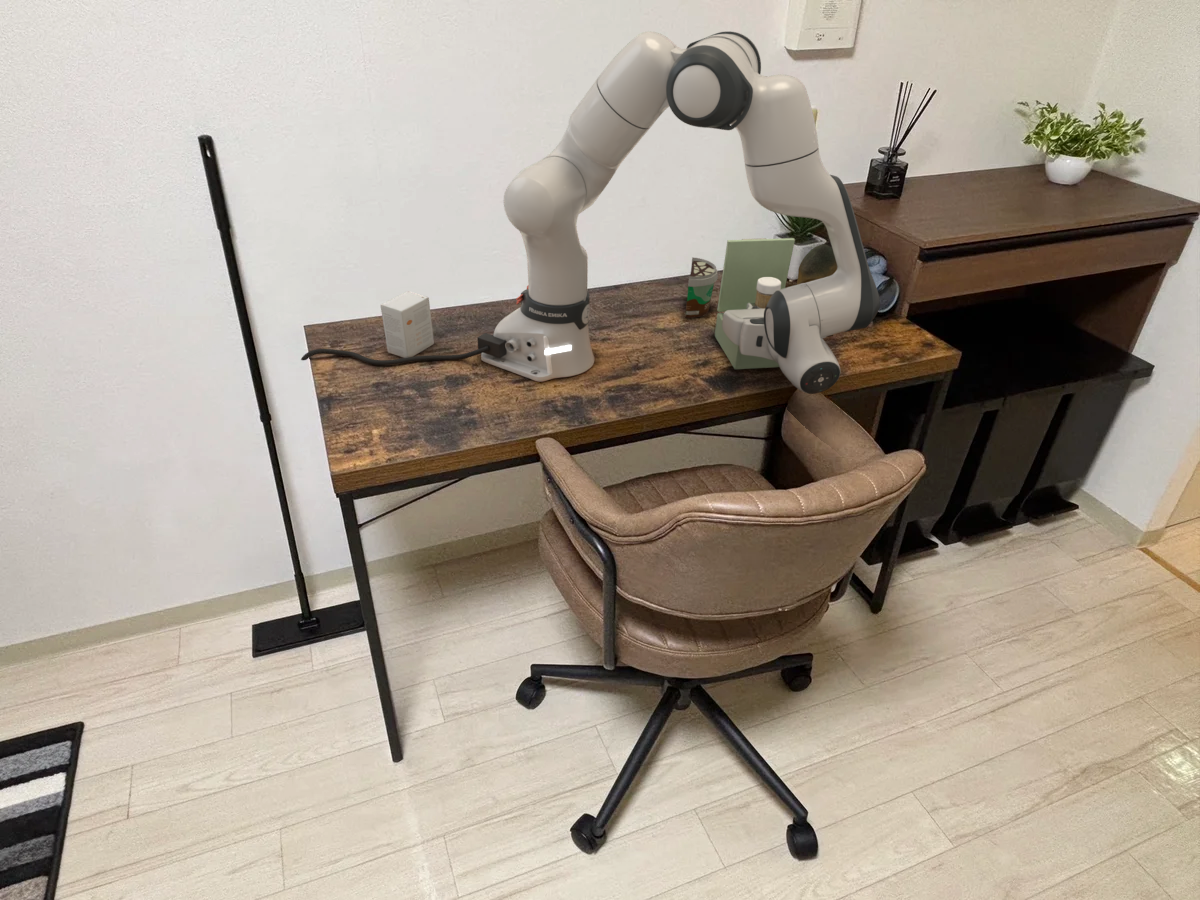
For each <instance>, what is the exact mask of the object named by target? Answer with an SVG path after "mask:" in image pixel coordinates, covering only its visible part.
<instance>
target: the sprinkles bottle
mask: <svg viewBox="0 0 1200 900" xmlns="http://www.w3.org/2000/svg"><path fill="white" fill-rule="evenodd" d="M756 289H757V294H756V301H755V304H756V305H757V309H764V308H766V306H767V303H768V301H769V300H770V298H771V296H772V295H773V294H774V293H775V291H778V290H780V289H781V281H780V280H778V279H776V278H773V277H762V278H760V279H758V281H757V288H756Z"/></svg>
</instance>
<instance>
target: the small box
mask: <svg viewBox="0 0 1200 900" xmlns="http://www.w3.org/2000/svg"><path fill="white" fill-rule="evenodd" d="M380 311H381V319H382V323H383V330H384V336H385V342H386V349H387V353H388V354H392V355H395V356H397V357H400V358H407V357H414V356H417V355H418V354H419V353H422V352H423V351H425V350H427V349H428V348H430V347H431V346H433V345H435V340H434V329H433V323H432V322H433V321H432V314H431V313H432V312H431V304H430V297H428V296H426V295H423V294H419V293H416V292H413V291H410V290H407V291H405V292H403V293H401V294H399V295H396V296H395V297H393V298H391V299H388V300H387V301H385V302H383V303H381V304H380Z"/></svg>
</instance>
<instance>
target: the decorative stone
mask: <svg viewBox="0 0 1200 900" xmlns="http://www.w3.org/2000/svg"><path fill="white" fill-rule="evenodd" d="M797 270H798V271H797V272H798V273H797V279H796V280H797V281H796V285H798V284H801V283H807V282H810V281H814V280H817V279H821V278H824V277H828V276H831V275H833V274H834V273H835V272H836V270H837V263H836V259H835V256H834V252H833V249H832V246H830V245H827V244H825V243H822V244H819V245H816V246H814V247H813V248H812V249H810V250H809V252H807V253H806V254H805V255H804V257H803V258H802V260H801V262H800V264H799V266H798V269H797Z"/></svg>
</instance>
